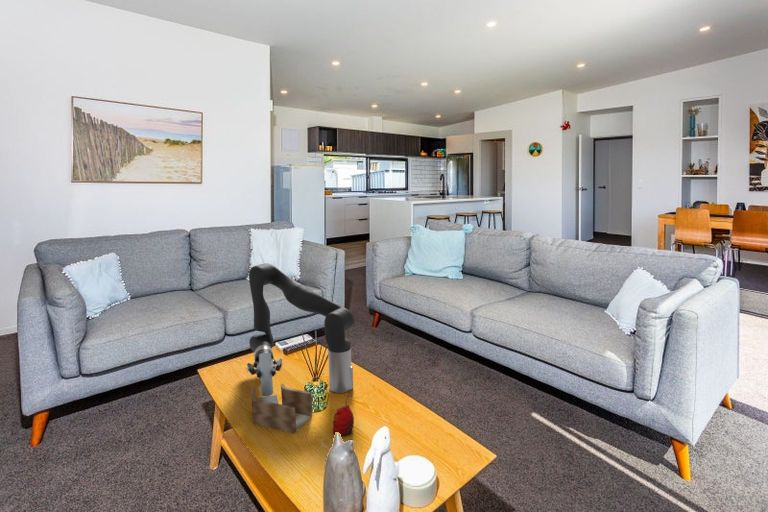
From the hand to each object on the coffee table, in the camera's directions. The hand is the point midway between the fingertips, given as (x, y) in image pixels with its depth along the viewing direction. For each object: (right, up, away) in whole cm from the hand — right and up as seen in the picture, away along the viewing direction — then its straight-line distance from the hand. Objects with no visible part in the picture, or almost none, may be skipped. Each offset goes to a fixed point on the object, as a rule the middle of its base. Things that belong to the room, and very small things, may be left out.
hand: (266, 375), depth 157 cm
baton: (-1, -8, +4) cm, 9 cm away
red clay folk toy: (+31, -15, -15) cm, 37 cm away
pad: (-1, -12, +5) cm, 13 cm away
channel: (+8, -14, -8) cm, 18 cm away
